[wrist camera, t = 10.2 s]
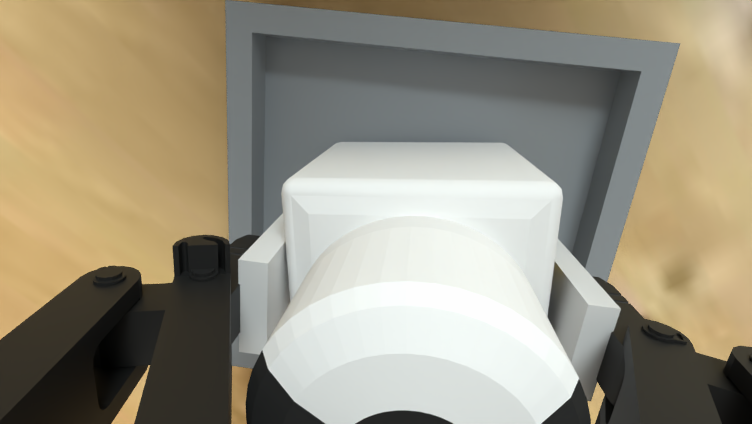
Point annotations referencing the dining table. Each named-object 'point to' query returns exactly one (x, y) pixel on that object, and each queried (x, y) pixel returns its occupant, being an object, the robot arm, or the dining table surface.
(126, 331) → the robot arm
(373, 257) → the medicine bottle
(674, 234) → the dining table surface
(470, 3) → the dining table surface
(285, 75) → the tray
